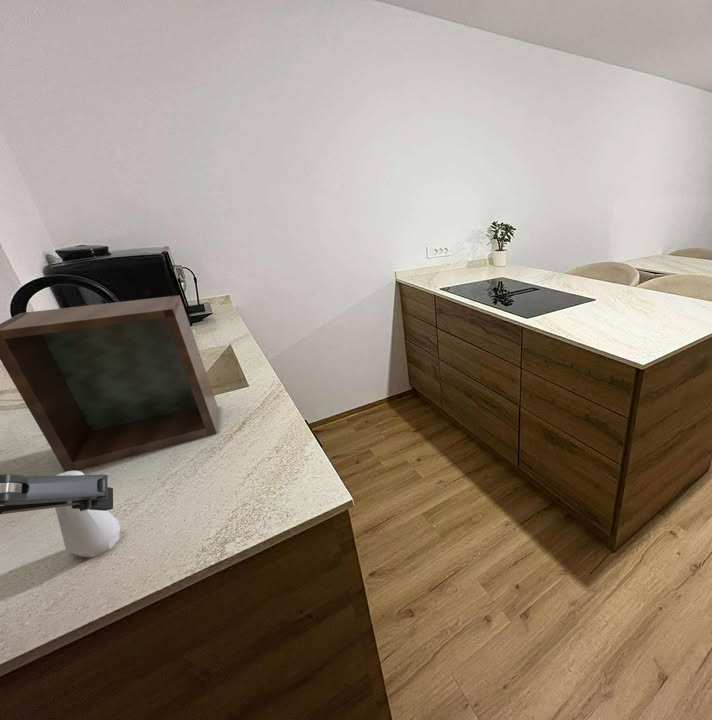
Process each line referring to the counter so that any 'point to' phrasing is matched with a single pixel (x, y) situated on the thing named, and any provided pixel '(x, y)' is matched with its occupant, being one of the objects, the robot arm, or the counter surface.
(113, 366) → the brown wooden box
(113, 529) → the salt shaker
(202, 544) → the counter surface
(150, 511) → the counter surface
